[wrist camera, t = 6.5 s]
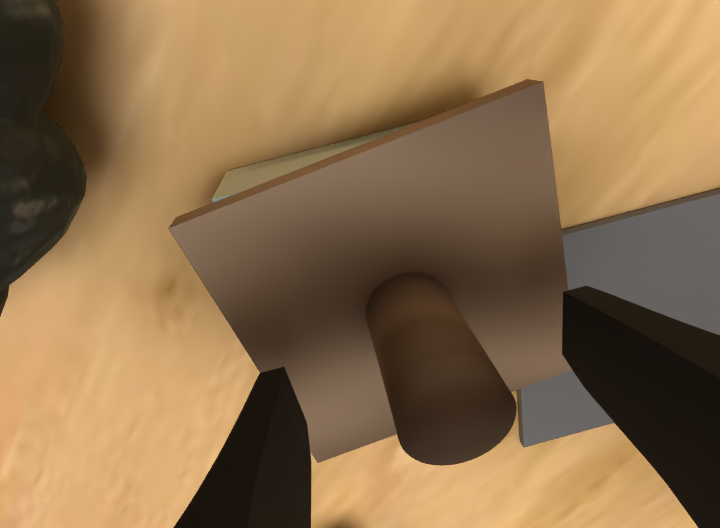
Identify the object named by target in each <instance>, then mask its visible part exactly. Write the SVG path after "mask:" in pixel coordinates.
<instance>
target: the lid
mask: <svg viewBox="0 0 720 528" xmlns="http://www.w3.org/2000/svg"><path fill="white" fill-rule="evenodd" d="M168 229H169V230H170V232H171V233H172V235H173V237H174V238H175V240H176V241H177V243H178V244H179V246H180V248H181V249H182V251H183V252H184V254H185V255H186V257H187V259H188V260H189V262H190V263H191V265H192V266H193V268H194V270H195V271H196V273H197V274H198V276H199V277H200V279H201V281H202V282H203V284H204V285H205V287H206V288H207V290H208V291H209V293H210V295H211V296H212V298H213V299H214V301H215V302H216V304H217V306H218V307H219V309H220V310H221V312H222V313H223V315H224V317H225V318H226V320H227V321H228V323H229V324H230V326H231V328H232V329H233V331H234V332H235V334H236V335H237V337H238V339H239V340H240V342H241V343H242V345H243V346H244V348H245V350H246V351H247V353H248V354H249V356H250V357H251V359H252V361H253V362H254V364H255V365H256V367H257V368H258V370H259V372H260V373H262V372H266V371H269V370H273V369H277V368H281V367H285V370H286V372H287V375H288V377H289V379H290V382H291V384H292V387H293V389H294V392H295V394H296V397H297V399H298V402H299V404H300V407H301V409H302V411H303V414H304V416H305V419H306V421H307V426H308V435H309V444H310V452H311V453H312V455H313V456H314V458H315V459H316V461H317V463H319V462H322V461H324V460H327V459H330V458H333V457H335V456H338V455H341V454H344V453H346V452H349V451H352V450H355V449H357V448H360V447H363V446H366V445H368V444H371V443H374V442H376V441H379V440H382V439H385V438H387V437H390V436H393V435H396V434H397V435H398V439H399V442H400V445H401V446H402V448H403V450H404V451H405V452H406V453H407V454H408V455H409V456H411V457H412V458H414V459H415V460H418V461H420V462H423V463H426V464H431V465H453V464H458V463H463V462H466V461H469V460H472V459H475V458H477V457H479V456H481V455H483V454H485V453H486V452H488V451H490V450H491V449H492V448H494V447H495V446H496V445H497V444H499V443H500V442H501V441H502V440H503V439H504V437H505V436H506V435H507V434H508V432H509V431H510V429H511V427H512V425H513V423H514V420H515V417H516V402H515V399H514V397H513V395H512V393H511V392H513V391H516V390H519V389H522V388H524V387H527V386H530V385H533V384H535V383H538V382H541V381H543V380H546V379H549V378H552V377H554V376H557V375H560V374H563V373H565V372H568V371H571V370H572V369H571V367H570V365H569V364H568V362H567V361H566V359H565V358H564V356H563V355H562V320H563V292H564V291H568V282H567V273H566V265H565V257H564V249H563V241H562V232H561V224H560V216H559V208H558V199H557V191H556V183H555V175H554V166H553V158H552V150H551V142H550V134H549V125H548V117H547V109H546V101H545V92H544V84H543V81H536V80H528V79H527V80H524V81H522V82H519V83H517V84H514V85H512V86H509V87H507V88H504V89H502V90H499V91H496V92H494V93H491V94H489V95H486V96H484V97H481V98H479V99H476V100H474V101H471V102H468V103H466V104H463V105H461V106H458V107H456V108H453V109H451V110H448V111H446V112H443V113H440V114H438V115H435V116H433V117H430V118H428V119H425V120H423V121H420V122H418V123H415V124H412V125H410V126H407V127H405V128H402V129H400V130H397V131H395V132H392V133H390V134H387V135H384V136H382V137H379V138H377V139H374V140H372V141H369V142H367V143H364V144H362V145H359V146H356V147H354V148H351V149H349V150H346V151H344V152H341V153H339V154H336V155H334V156H331V157H329V158H326V159H323V160H321V161H318V162H316V163H313V164H311V165H308V166H306V167H303V168H301V169H298V170H295V171H293V172H290V173H288V174H285V175H283V176H280V177H278V178H275V179H273V180H270V181H267V182H265V183H262V184H260V185H257V186H255V187H252V188H250V189H247V190H245V191H242V192H239V193H237V194H234V195H232V196H229V197H227V198H224V199H222V200H219V201H217V202H214V203H211V204H209V205H206V206H204V207H201V208H199V209H196V210H194V211H191V212H189V213H186V214H184V215H181V216H178V217H176V218H175V220H174V221H173V223H172V224H171V225H170V227H169V228H168Z"/></svg>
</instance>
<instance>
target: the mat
mask: <svg viewBox="0 0 720 528" xmlns="http://www.w3.org/2000/svg"><path fill="white" fill-rule="evenodd" d="M561 232H562V241H563V249H564V257H565V265H566V273H567V282H568V290H572V289H575V288H579V287H583V286H589V287H592V288H595V289H598V290H601V291H604V292H606V293H609V294H611V295H614V296H617V297H619V298H622V299H624V300H627V301H629V302H632V303H635V304H637V305H640V306H642V307H645V308H647V309H650V310H652V311H655V312H658V313H660V314H663V315H665V316H668V317H671V318H673V319H676V320H679V321H681V322H684V323H687V324H689V325H692V326H695V327H698V328H701V329H703V330H706V331H709V332H712V333H715V334H718V335H720V188H719V189H715V190H711V191H708V192H704V193H700V194H696V195H692V196H689V197H685V198H681V199H677V200H674V201H670V202H666V203H662V204H658V205H655V206H651V207H647V208H643V209H640V210H636V211H632V212H628V213H624V214H621V215H617V216H613V217H609V218H606V219H602V220H598V221H594V222H590V223H587V224H583V225H579V226H575V227H572V228H568V229H564V230H561ZM517 391H518V411H519V430H520V442H521V444H522V445H523V447H527V446H531V445H535V444H538V443H542V442H546V441H549V440H553V439H556V438H560V437H564V436H567V435H571V434H575V433H578V432H582V431H585V430H589V429H593V428H596V427H600V426H604V425H607V424H611V423H614V422H613V420H612V419H611V418H610V417H609V416H608V415H607V414H606V412H605V411H604V410H603V409H602V408H601V407H600V405H599V404H598V403H597V402H596V401H595V400H594V398H593V397H592V396H591V395H590V394H589V392H588V391H587V390H586V389H585V388H584V386H583V385H582V383H581V382H580V380H579V379H578V378H577V376H576V375H575V373H574V372H573V370H571V371H568V372H565V373H563V374H560V375H557V376H554V377H552V378H549V379H546V380H543V381H541V382H538V383H535V384H533V385H530V386H527V387H524V388H522V389H519V390H517Z"/></svg>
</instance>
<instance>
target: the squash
mask: <svg viewBox="0 0 720 528" xmlns="http://www.w3.org/2000/svg"><path fill="white" fill-rule="evenodd" d="M62 49H63V21H62V18H61V15H60V12H59V9H58V7H57V5H56V4H55V2H54V0H0V316H1V313H2V310H3V308H4V305H5V302H6V299H7V297H8V291H9V285H10V284H11V283H13V282H14V281H15V280H17V279H18V278H19V277H21V276H22V275H23V274H24V273H25V272H26V271H27V270H28V269H30V268H31V267H32V266H33V265H34V264H35V263H36V262H37V261H38V260H39V259H41V258H42V257H43V256H44V255H45V254H46V253H47V252H48V251H49V250H51V249H52V248H53V247H54V245H55V244H56V243H57V242H58V241H59V240H60V239H61V237H62V236H63V235H64V234H65V233H66V231H67V229H68V228H69V226H70V224H71V222H72V220H73V218H74V216H75V214H76V212H77V210H78V208H79V206H80V203H81V201H82V199H83V197H84V195H85V188H86V173H85V169H84V166H83V163H82V161H81V159H80V157H79V155H78V153H77V151H76V149H75V147H74V145H73V144H72V142H71V140H70V139H69V137H68V136H67V135H66V133H65V132H64V131H63V129H62V128H61V127H60V126H59V125H58V124H57V123H56V122H55V121H54V120H53V119H52V118H51V117H50V116H49V115H48V114H46V113H45V112H44V111H43V110H42V108H43V107H44V105H45V104H46V102H47V100H48V98H49V95H50V93H51V90H52V88H53V85H54V82H55V79H56V75H57V72H58V69H59V65H60V62H61V58H62Z"/></svg>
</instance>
